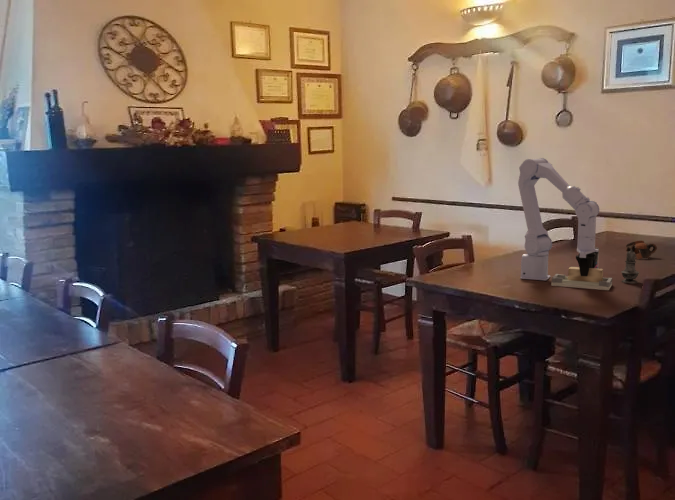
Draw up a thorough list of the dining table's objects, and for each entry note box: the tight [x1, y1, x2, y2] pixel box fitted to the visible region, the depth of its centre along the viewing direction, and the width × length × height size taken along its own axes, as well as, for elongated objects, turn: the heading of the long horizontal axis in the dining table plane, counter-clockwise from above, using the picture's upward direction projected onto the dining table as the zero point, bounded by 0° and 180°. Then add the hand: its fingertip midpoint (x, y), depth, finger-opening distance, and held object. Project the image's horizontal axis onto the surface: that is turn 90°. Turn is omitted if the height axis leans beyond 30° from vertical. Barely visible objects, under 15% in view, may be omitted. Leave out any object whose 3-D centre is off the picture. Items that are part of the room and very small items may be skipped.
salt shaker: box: [620, 249, 640, 284], centre depth 240 cm, size 6×6×12 cm
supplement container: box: [591, 246, 600, 269], centre depth 253 cm, size 7×7×10 cm
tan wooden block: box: [567, 266, 604, 282], centre depth 236 cm, size 11×4×5 cm, turn 62°
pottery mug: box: [625, 240, 658, 260], centre depth 286 cm, size 12×10×8 cm
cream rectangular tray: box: [550, 273, 613, 291], centre depth 237 cm, size 19×9×3 cm, turn 62°
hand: (585, 274), depth 236 cm, fingers closed on tan wooden block, 4 cm apart
